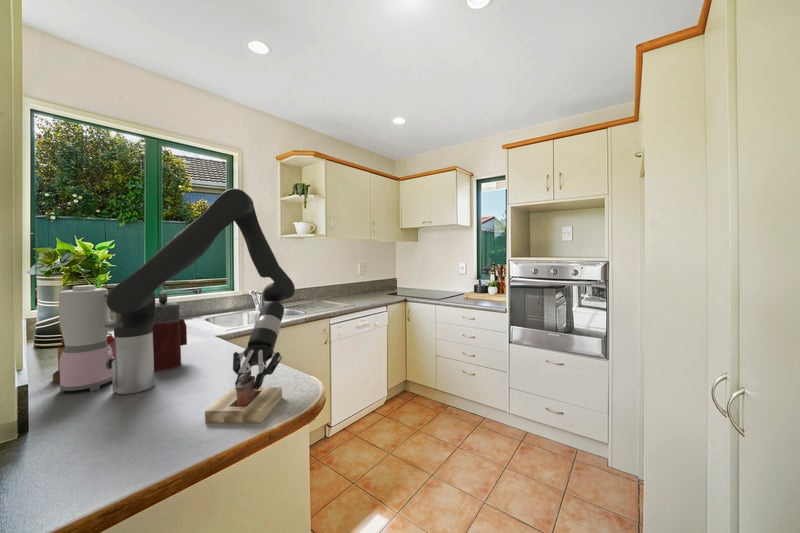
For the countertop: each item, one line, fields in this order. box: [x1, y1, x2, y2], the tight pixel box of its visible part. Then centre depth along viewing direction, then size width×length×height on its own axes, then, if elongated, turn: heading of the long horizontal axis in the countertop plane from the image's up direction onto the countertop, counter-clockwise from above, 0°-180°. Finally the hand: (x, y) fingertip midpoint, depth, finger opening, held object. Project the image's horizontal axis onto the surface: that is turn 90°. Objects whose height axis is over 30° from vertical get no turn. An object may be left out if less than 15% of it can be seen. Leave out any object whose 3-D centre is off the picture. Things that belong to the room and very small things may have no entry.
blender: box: [58, 284, 121, 394], centre depth 102 cm, size 16×12×32 cm
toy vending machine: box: [153, 290, 188, 372], centre depth 121 cm, size 9×11×28 cm
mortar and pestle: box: [52, 327, 65, 383], centre depth 108 cm, size 7×6×18 cm
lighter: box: [235, 369, 256, 407], centre depth 87 cm, size 8×3×10 cm, turn 3°
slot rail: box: [204, 386, 283, 424], centre depth 87 cm, size 14×14×3 cm
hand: (247, 388), depth 87 cm, fingers open, 4 cm apart
